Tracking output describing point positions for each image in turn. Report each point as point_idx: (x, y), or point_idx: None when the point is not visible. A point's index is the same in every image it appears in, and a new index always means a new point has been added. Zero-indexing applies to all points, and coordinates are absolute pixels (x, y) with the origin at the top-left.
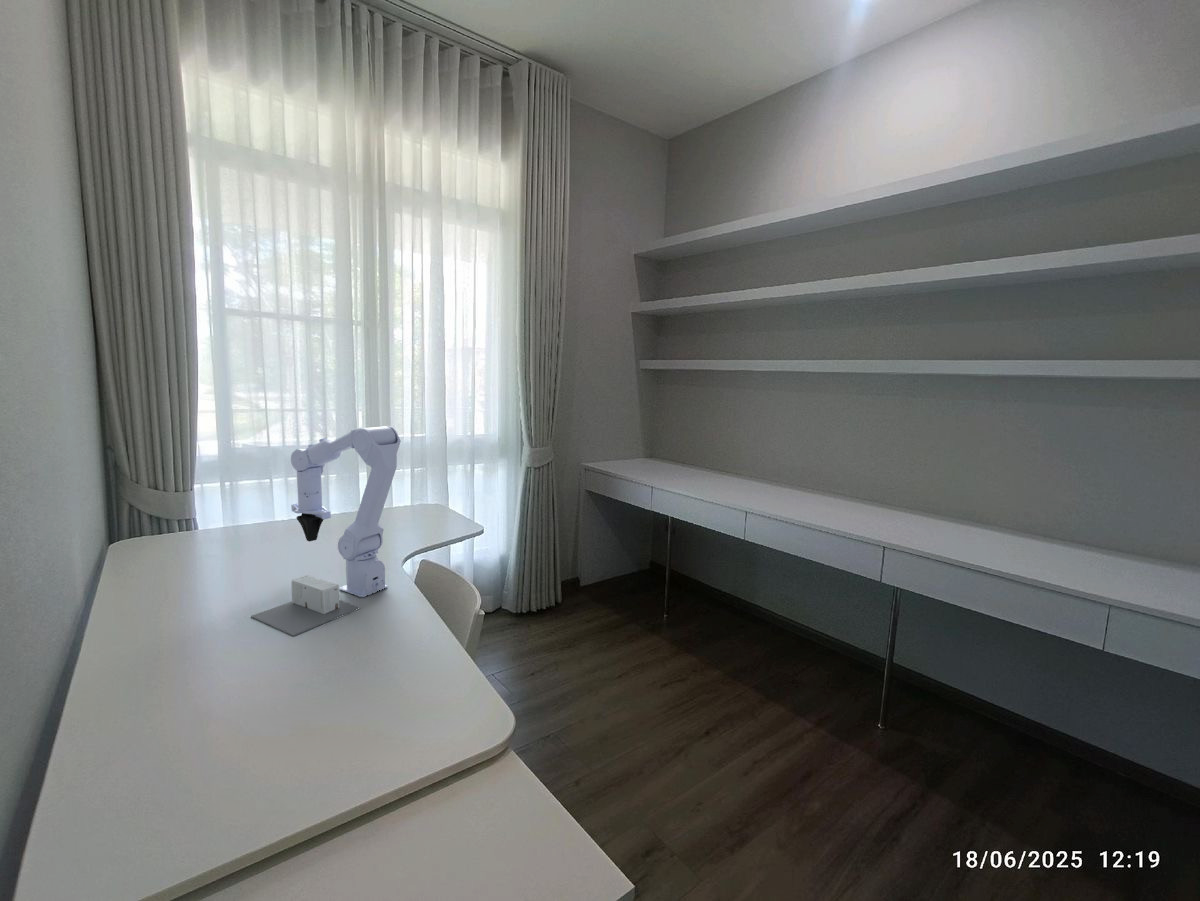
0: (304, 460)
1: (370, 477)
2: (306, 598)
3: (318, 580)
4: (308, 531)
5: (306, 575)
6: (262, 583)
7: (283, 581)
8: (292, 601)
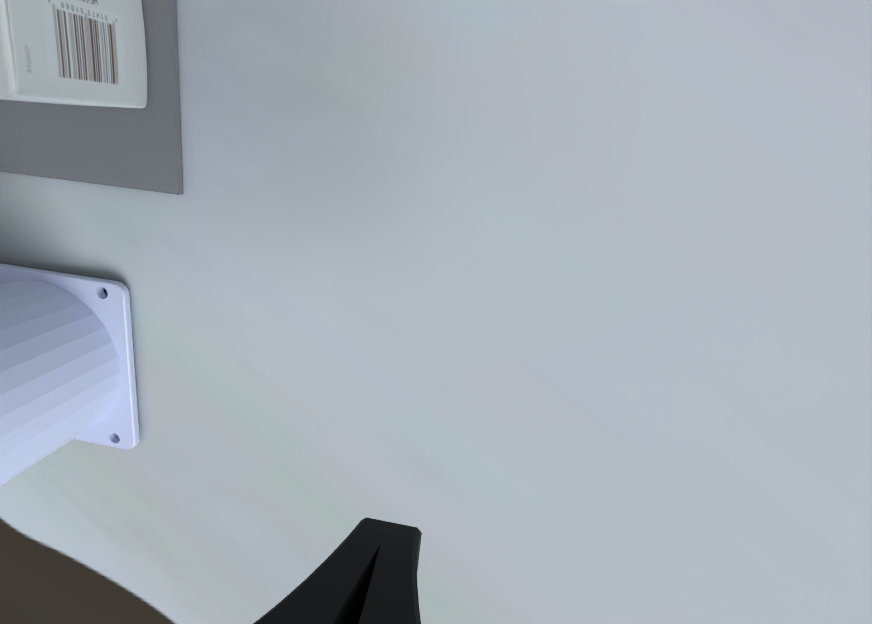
0: None
1: None
2: None
3: None
4: (287, 600)
5: (6, 80)
6: (663, 133)
7: (552, 230)
8: (165, 5)
